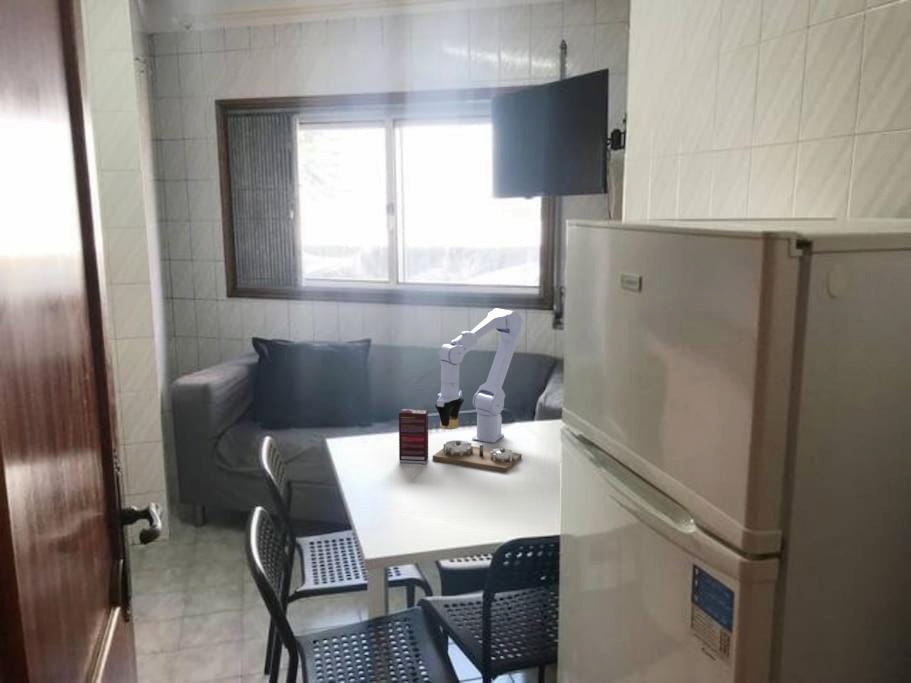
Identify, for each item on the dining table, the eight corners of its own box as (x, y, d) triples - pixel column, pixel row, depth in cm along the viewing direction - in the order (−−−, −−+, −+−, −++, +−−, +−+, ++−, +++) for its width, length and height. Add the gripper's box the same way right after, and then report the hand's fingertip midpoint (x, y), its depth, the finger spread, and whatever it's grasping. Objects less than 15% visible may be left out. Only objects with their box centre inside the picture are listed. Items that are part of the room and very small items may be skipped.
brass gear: (445, 423, 246) (445, 414, 245) (460, 426, 244) (461, 417, 243) (437, 428, 241) (437, 419, 240) (453, 430, 239) (453, 421, 238)
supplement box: (428, 459, 233) (429, 409, 230) (426, 464, 228) (427, 413, 225) (401, 457, 234) (401, 408, 231) (398, 462, 229) (398, 412, 226)
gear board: (451, 447, 244) (451, 432, 243) (521, 458, 235) (521, 442, 234) (432, 460, 232) (432, 444, 231) (505, 472, 222) (506, 456, 221)
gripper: (448, 375, 248) (447, 415, 250) (428, 385, 235) (428, 427, 237) (468, 378, 245) (467, 418, 247) (448, 387, 232) (448, 430, 234)
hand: (449, 423), depth 242 cm, fingers closed on brass gear, 6 cm apart
